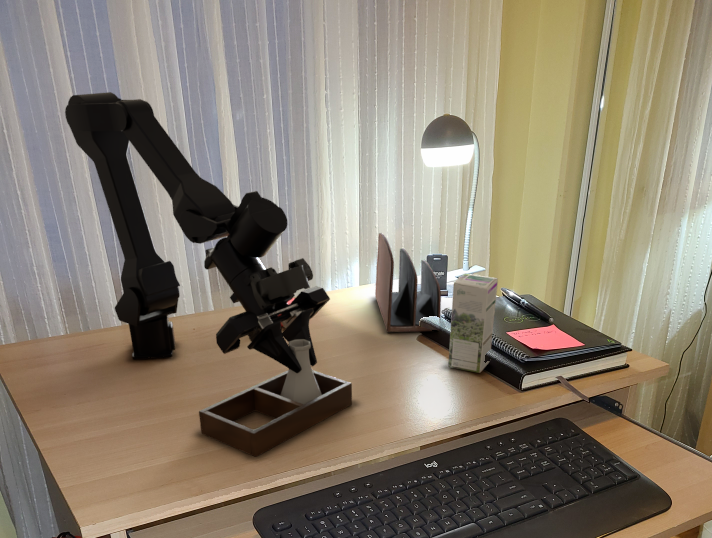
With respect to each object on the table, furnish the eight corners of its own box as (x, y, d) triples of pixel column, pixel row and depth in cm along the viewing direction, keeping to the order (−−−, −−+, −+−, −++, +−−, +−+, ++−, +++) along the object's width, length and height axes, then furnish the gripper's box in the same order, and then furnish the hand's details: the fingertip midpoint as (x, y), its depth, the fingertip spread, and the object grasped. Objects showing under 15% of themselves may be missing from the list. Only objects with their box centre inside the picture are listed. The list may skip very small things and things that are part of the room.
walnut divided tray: (201, 433, 107) (198, 411, 105) (299, 385, 121) (298, 365, 119) (255, 457, 102) (253, 433, 100) (352, 404, 115) (352, 383, 113)
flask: (288, 421, 110) (285, 356, 105) (270, 401, 116) (266, 338, 110) (334, 411, 113) (333, 347, 108) (314, 393, 119) (312, 330, 113)
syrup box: (490, 361, 130) (499, 276, 122) (479, 374, 125) (487, 286, 117) (458, 356, 132) (465, 271, 124) (446, 368, 127) (452, 281, 119)
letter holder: (386, 333, 140) (388, 255, 133) (374, 298, 157) (375, 227, 149) (440, 332, 141) (445, 254, 134) (423, 297, 158) (426, 226, 150)
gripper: (222, 257, 97) (290, 360, 98) (318, 229, 110) (378, 321, 110) (187, 304, 106) (251, 399, 106) (281, 274, 118) (337, 359, 119)
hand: (307, 368), depth 110 cm, fingers closed on flask, 3 cm apart
